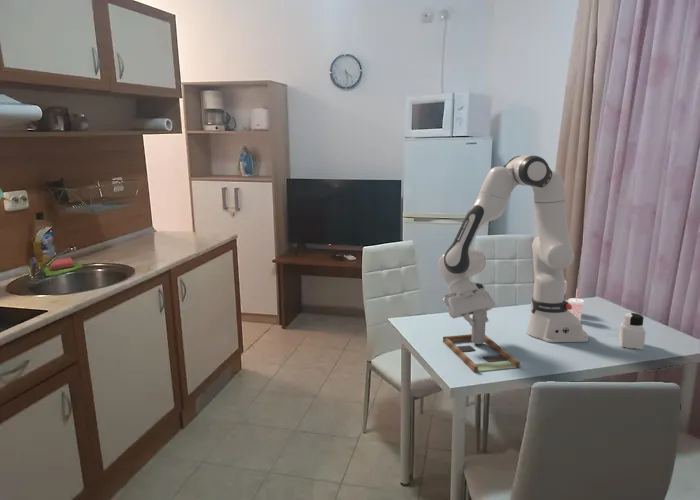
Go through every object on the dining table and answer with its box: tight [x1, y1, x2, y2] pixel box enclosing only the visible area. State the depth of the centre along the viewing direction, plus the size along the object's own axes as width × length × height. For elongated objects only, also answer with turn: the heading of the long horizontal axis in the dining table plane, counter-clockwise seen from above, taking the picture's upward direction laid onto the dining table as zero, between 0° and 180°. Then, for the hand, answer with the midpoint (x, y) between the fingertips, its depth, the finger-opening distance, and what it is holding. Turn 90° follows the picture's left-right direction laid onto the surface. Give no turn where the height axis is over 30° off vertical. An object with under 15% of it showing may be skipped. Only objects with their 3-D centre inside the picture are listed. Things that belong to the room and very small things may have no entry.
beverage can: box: [471, 310, 487, 345], centre depth 190 cm, size 5×5×12 cm
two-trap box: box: [442, 333, 521, 373], centre depth 183 cm, size 27×16×2 cm, turn 12°
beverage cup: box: [567, 288, 585, 321], centre depth 215 cm, size 6×6×14 cm
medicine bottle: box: [618, 312, 646, 350], centre depth 189 cm, size 7×7×12 cm
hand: (480, 323), depth 189 cm, fingers closed on beverage can, 5 cm apart
